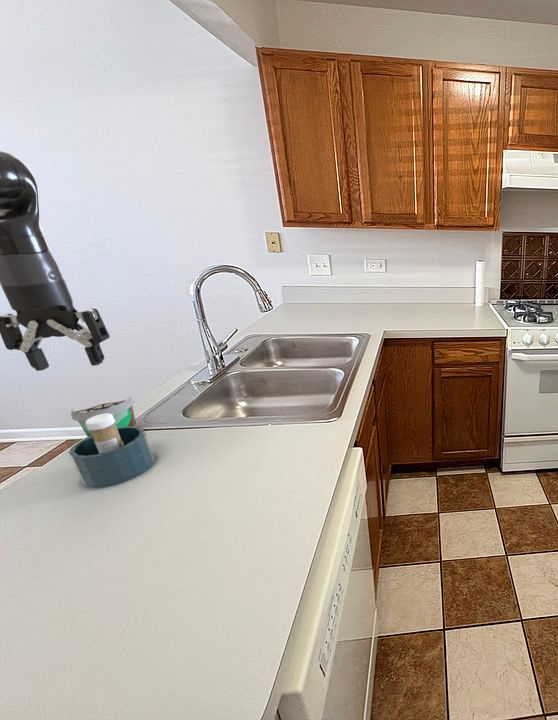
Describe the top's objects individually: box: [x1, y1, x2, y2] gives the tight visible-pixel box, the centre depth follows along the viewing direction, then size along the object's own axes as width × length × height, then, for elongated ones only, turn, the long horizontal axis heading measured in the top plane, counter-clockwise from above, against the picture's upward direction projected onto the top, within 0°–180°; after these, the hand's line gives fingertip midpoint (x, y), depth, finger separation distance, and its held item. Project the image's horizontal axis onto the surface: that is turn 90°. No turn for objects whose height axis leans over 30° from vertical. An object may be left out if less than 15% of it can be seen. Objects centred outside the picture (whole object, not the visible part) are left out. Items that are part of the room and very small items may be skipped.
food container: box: [70, 395, 138, 437], centre depth 102 cm, size 12×6×10 cm, turn 129°
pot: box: [68, 426, 155, 489], centre depth 91 cm, size 13×13×8 cm
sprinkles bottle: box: [85, 414, 124, 454], centre depth 90 cm, size 5×5×14 cm
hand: (70, 366), depth 74 cm, fingers open, 8 cm apart
